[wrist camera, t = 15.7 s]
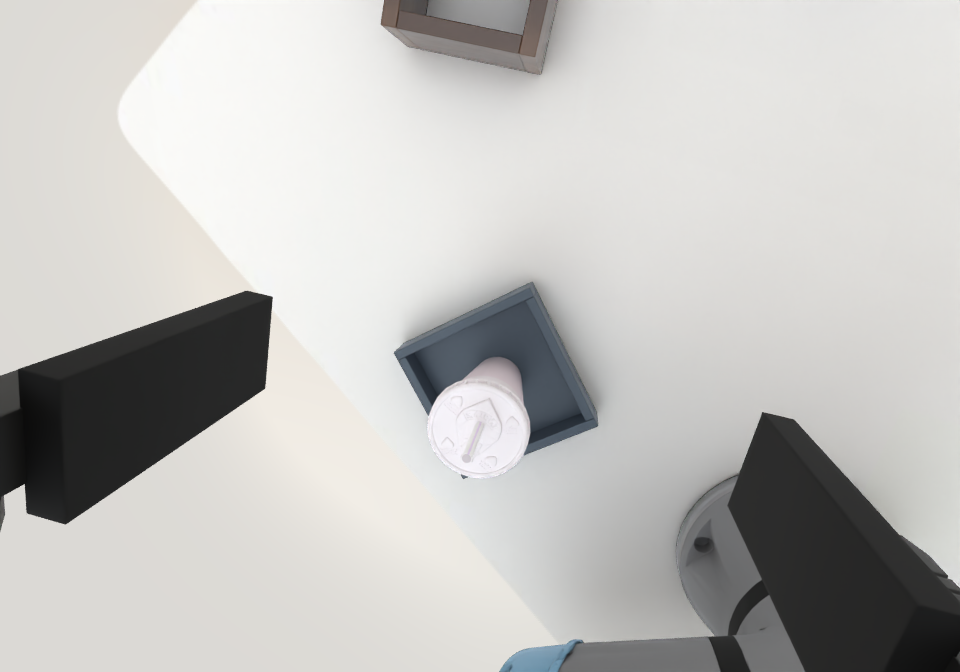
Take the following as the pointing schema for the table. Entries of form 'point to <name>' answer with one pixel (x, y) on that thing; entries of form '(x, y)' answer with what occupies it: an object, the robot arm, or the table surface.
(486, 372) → the smoothie
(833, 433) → the table surface
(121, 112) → the table surface
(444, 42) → the rack
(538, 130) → the table surface
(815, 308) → the table surface
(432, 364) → the tray
